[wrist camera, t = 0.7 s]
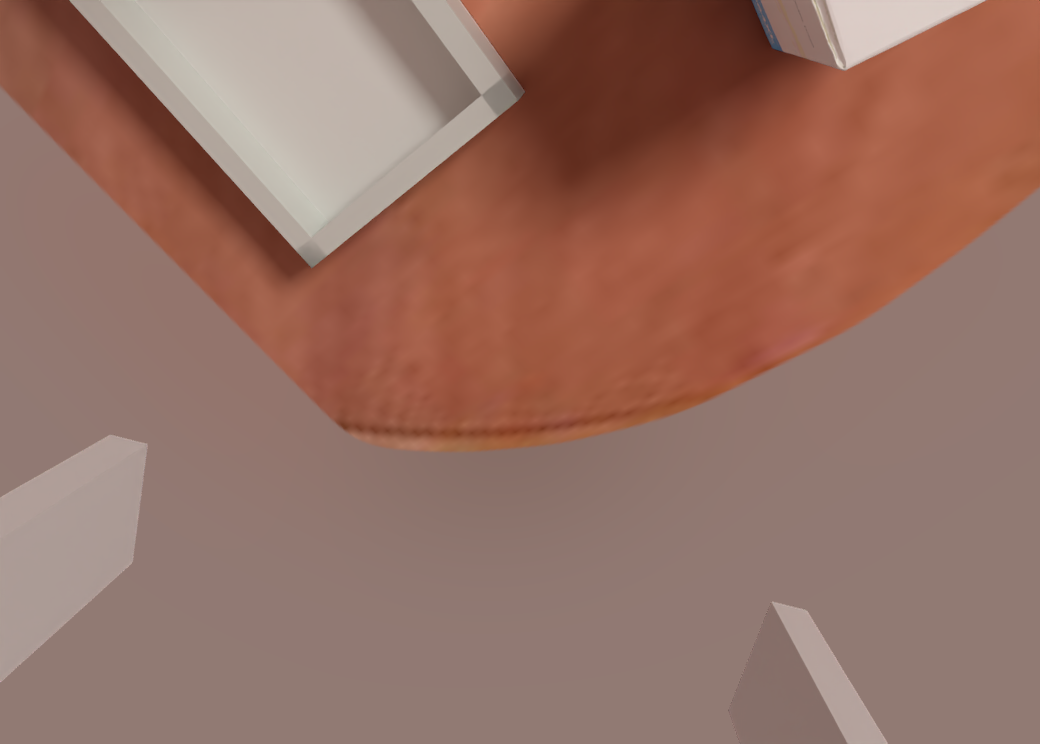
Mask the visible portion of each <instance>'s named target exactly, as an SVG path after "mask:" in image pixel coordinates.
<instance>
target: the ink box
mask: <svg viewBox="0 0 1040 744" xmlns="http://www.w3.org/2000/svg"><path fill="white" fill-rule="evenodd" d="M984 1H986V0H752V2H753V5H754V7H755V10H756V12H757V14H758V17H759V19H760V22H761V24H762V26H763V29H764V31H765V34H766V36H767V38H768V40H769V42H770V45H771V47H772V48H773V49H776V50H779V51H782V52H785V53H789V54H793V55H796V56H799V57H802V58H805V59H808V60H812V61H815V62H818V63H821V64H824V65H828V66H831V67H833V68H836V69H840V70H847V69H849V68H851V67H853V66H855V65H857V64H859V63H861V62H863V61H865V60H867V59H869V58H872V57H874V56H876V55H878V54H880V53H882V52H884V51H886V50H888V49H890V48H892V47H894V46H896V45H898V44H900V43H902V42H904V41H906V40H908V39H910V38H912V37H914V36H916V35H918V34H920V33H922V32H924V31H926V30H928V29H930V28H932V27H934V26H936V25H938V24H940V23H942V22H944V21H946V20H948V19H950V18H952V17H954V16H956V15H958V14H960V13H962V12H964V11H966V10H968V9H970V8H972V7H974V6H976V5H978V4H980V3H982V2H984Z"/></svg>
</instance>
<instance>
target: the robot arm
mask: <svg viewBox="0 0 1040 744" xmlns="http://www.w3.org/2000/svg"><path fill="white" fill-rule="evenodd" d="M147 446H148V444H145V443H141V442H137V441H133V440H129V439H125V438H121V437H117V436H113V435H109V436H107V437H106V438H104V439H102V440H100V441H99V442H97V443H95V444H93V445H91V446H90V447H88V448H86V449H84V450H83V451H81V452H79V453H77V454H76V455H74V456H72V457H70V458H69V459H67V460H65V461H64V462H62V463H60V464H58V465H56V466H55V467H53V468H51V469H49V470H47V471H46V472H44V473H42V474H40V475H39V476H37V477H35V478H33V479H32V480H30V481H28V482H26V483H25V484H23V485H21V486H19V487H18V488H16V489H14V490H12V491H10V492H9V493H7V494H5V495H4V496H2V497H0V682H1V681H2V680H3V679H4V678H6V677H7V676H8V675H9V674H10V673H11V672H12V671H13V670H14V669H16V667H18V666H19V665H20V664H21V663H22V662H23V661H24V660H26V659H27V658H28V657H29V656H30V655H31V654H32V653H33V652H34V651H35V650H36V649H38V648H39V647H40V646H41V645H42V644H43V643H44V642H45V641H46V640H48V639H49V638H50V637H51V636H52V635H53V634H54V633H55V632H56V631H58V630H59V629H60V628H61V627H62V626H63V625H64V624H65V623H66V622H68V621H69V620H70V619H71V618H72V617H73V616H74V615H75V614H76V613H77V612H79V611H80V610H81V609H82V608H83V607H84V606H85V605H86V604H87V603H89V602H90V601H91V600H92V599H93V598H94V597H95V596H96V595H97V594H98V593H100V592H101V591H102V590H103V589H104V588H105V587H106V586H107V585H108V584H109V583H111V581H113V580H114V579H115V578H116V577H117V576H118V575H119V574H121V572H123V570H125V569H126V568H127V567H128V566H129V565H130V564H131V563H132V562H133V554H134V546H135V539H136V531H137V523H138V515H139V507H140V499H141V492H142V484H143V477H144V468H145V461H146V454H147ZM729 714H730V717H731V720H732V723H733V725H734V728H735V731H736V734H737V737H738V740H739V743H740V744H888V743H887V741H886V740H885V738H884V736H883V735H882V733H881V732H880V730H879V728H878V727H877V725H876V723H875V722H874V720H873V719H872V717H871V715H870V713H869V712H868V710H867V709H866V707H865V705H864V704H863V702H862V700H861V699H860V697H859V695H858V694H857V692H856V690H855V689H854V687H853V686H852V684H851V682H850V681H849V679H848V677H847V676H846V674H845V672H844V671H843V669H842V668H841V666H840V664H839V663H838V661H837V659H836V658H835V656H834V654H833V653H832V651H831V649H830V648H829V646H828V645H827V643H826V641H825V639H824V638H823V636H822V635H821V633H820V632H819V630H818V628H817V626H816V625H815V623H814V621H813V620H812V618H811V617H810V615H809V613H808V612H807V610H804V609H799V608H796V607H791V606H788V605H783V604H780V603H776V602H771V603H770V606H769V609H768V611H767V613H766V616H765V619H764V621H763V624H762V626H761V629H760V631H759V634H758V636H757V639H756V642H755V644H754V646H753V649H752V652H751V654H750V657H749V659H748V662H747V664H746V667H745V669H744V672H743V674H742V677H741V679H740V682H739V684H738V687H737V690H736V692H735V695H734V697H733V700H732V702H731V705H730V707H729Z"/></svg>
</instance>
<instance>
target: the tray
mask: <svg viewBox="0 0 1040 744" xmlns="http://www.w3.org/2000/svg"><path fill="white" fill-rule="evenodd" d="M69 1H70V2H71V3H72V4H73V5H74V6H75V7H76V8H77V9H78V11H79V12H80V13H81V14H82V15H83V16H84V17H85V18H86V19H87V20H88V22H89V23H90V24H91V25H92V26H93V27H94V28H95V29H96V30H97V31H98V33H99V34H100V35H101V36H102V37H103V38H104V39H105V40H106V41H107V43H108V44H109V45H110V46H111V47H112V48H113V49H114V50H115V51H116V52H117V54H118V55H119V56H120V57H121V58H122V59H123V60H124V61H125V62H126V64H127V65H128V66H129V67H130V68H131V69H132V70H133V71H134V72H135V73H136V75H137V76H138V77H139V78H140V79H141V80H142V81H143V82H144V83H145V85H146V86H147V87H148V88H149V89H150V90H151V91H152V92H153V93H154V94H155V96H156V97H157V98H158V99H159V100H160V101H161V102H162V103H163V104H164V105H165V107H166V108H167V109H168V110H169V111H170V112H171V113H172V114H173V115H174V117H175V118H176V119H177V120H178V121H179V122H180V123H181V124H182V125H183V126H184V128H185V129H186V130H187V131H188V132H189V133H190V134H191V135H192V136H193V138H194V139H195V140H196V141H197V142H198V143H199V144H200V145H201V146H202V147H203V149H204V150H205V151H206V152H207V153H208V154H209V155H210V156H211V157H212V159H213V160H214V161H215V162H216V163H217V164H218V165H219V166H220V167H221V168H222V170H223V171H224V172H225V173H226V174H227V175H228V176H229V177H230V178H231V180H232V181H233V182H234V183H235V184H236V185H237V186H238V187H239V188H240V189H241V191H242V192H243V193H244V194H245V195H246V196H247V197H248V198H249V199H250V200H251V202H252V203H253V204H254V205H255V206H256V207H257V208H258V209H259V210H260V212H261V213H262V214H263V215H264V216H265V217H266V218H267V219H268V220H269V221H270V223H271V224H272V225H273V226H274V227H275V228H276V229H277V230H278V231H279V233H280V234H281V235H282V236H283V237H284V238H285V239H286V240H287V241H288V242H289V244H290V245H291V246H292V247H293V248H294V249H295V250H296V251H297V252H298V254H299V255H300V256H301V257H302V258H303V259H304V260H305V261H306V262H307V263H308V265H309V266H310V267H311V268H313V267H314V266H315V265H316V264H318V263H319V262H320V261H321V260H322V259H324V258H325V257H326V256H327V255H329V254H330V253H331V252H332V251H334V250H335V249H336V248H337V247H338V246H340V245H341V244H342V243H343V242H345V241H346V240H347V239H348V238H350V237H351V236H352V235H353V234H354V233H356V232H357V231H358V230H359V229H361V228H362V227H363V226H364V225H366V224H367V223H368V222H369V221H370V220H372V219H373V218H374V217H375V216H377V215H378V214H379V213H380V212H382V211H383V210H384V209H385V208H386V207H388V206H389V205H390V204H391V203H393V202H394V201H395V200H396V199H398V198H399V197H400V196H401V195H402V194H404V193H405V192H406V191H407V190H409V189H410V188H411V187H412V186H414V185H415V184H416V183H417V182H418V181H420V180H421V179H422V178H423V177H425V176H426V175H427V174H428V173H430V172H431V171H432V170H433V169H434V168H436V167H437V166H438V165H439V164H441V163H442V162H443V161H444V160H446V159H447V158H448V157H449V156H450V155H452V154H453V153H454V152H455V151H457V150H458V149H459V148H460V147H462V146H463V145H464V144H465V143H466V142H468V141H469V140H470V139H471V138H473V137H474V136H475V135H476V134H478V133H479V132H480V131H481V130H482V129H484V128H485V127H486V126H487V125H489V124H490V123H491V122H492V121H494V120H495V119H496V118H497V117H498V116H500V115H501V114H502V113H503V112H505V111H506V110H507V109H508V108H510V107H511V106H512V105H513V104H514V103H516V102H517V101H518V100H519V99H520V98H521V96H522V95H523V94H524V93H525V91H524V89H523V88H522V86H521V85H520V84H519V82H518V81H517V79H516V78H515V77H514V75H513V74H512V72H511V71H510V70H509V68H508V67H507V65H506V64H505V63H504V61H503V60H502V58H501V57H500V56H499V54H498V53H497V51H496V50H495V49H494V47H493V46H492V44H491V43H490V42H489V40H488V39H487V37H486V36H485V35H484V33H483V32H482V30H481V29H480V28H479V26H478V25H477V23H476V22H475V21H474V19H473V18H472V16H471V15H470V14H469V12H468V11H467V9H466V8H465V7H464V5H463V4H462V2H461V1H460V0H69Z"/></svg>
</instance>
